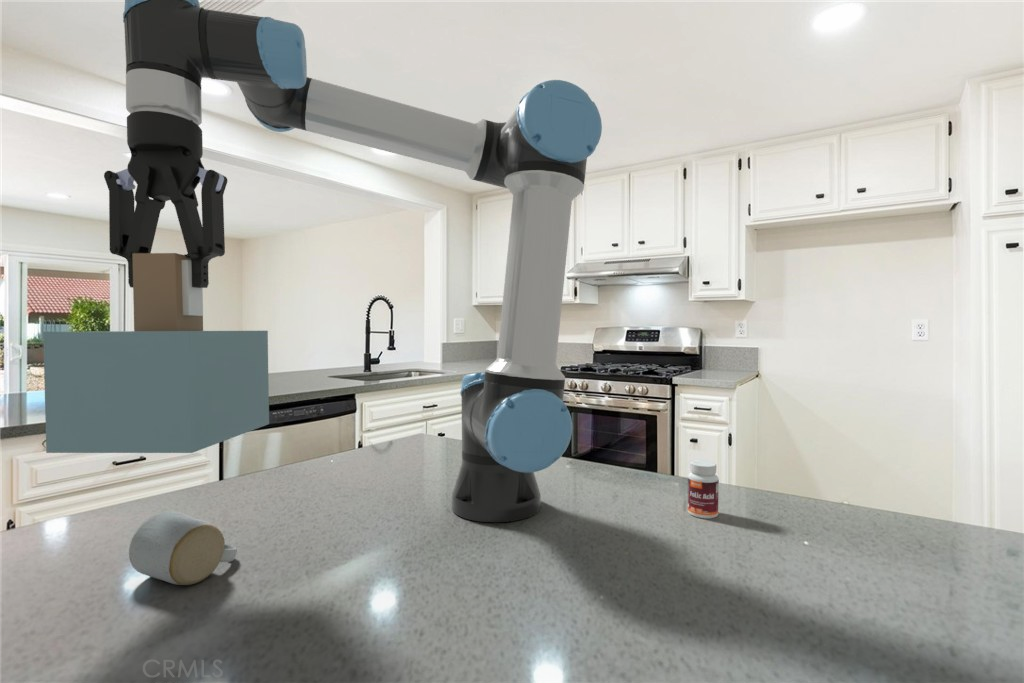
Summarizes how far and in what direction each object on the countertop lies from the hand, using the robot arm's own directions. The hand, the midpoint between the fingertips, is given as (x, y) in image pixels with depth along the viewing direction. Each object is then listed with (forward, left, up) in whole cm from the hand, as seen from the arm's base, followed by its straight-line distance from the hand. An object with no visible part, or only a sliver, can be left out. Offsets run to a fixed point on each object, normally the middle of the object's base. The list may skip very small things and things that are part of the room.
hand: (169, 315), depth 63 cm
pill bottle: (-72, -23, -32) cm, 82 cm away
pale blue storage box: (0, 0, -15) cm, 15 cm away
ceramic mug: (-1, -2, -33) cm, 33 cm away
